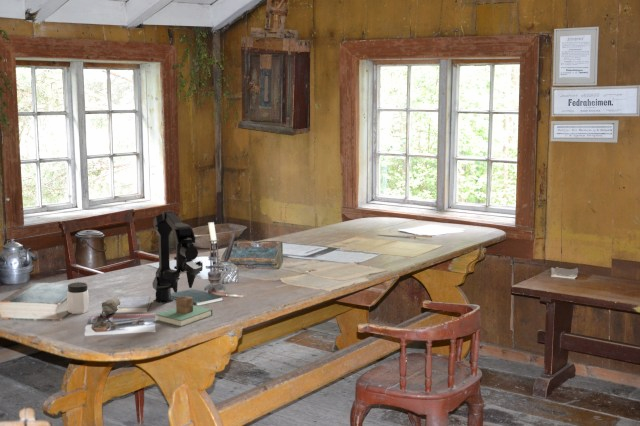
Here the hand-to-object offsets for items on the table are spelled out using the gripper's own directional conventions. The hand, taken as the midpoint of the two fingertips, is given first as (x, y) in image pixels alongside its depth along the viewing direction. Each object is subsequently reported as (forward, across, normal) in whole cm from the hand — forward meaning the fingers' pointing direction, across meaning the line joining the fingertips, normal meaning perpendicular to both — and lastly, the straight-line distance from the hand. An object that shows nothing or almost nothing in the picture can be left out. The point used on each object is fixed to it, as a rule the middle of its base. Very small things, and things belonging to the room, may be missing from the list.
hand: (183, 290), depth 354 cm
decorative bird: (+12, -16, +27) cm, 34 cm away
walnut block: (+9, -1, -2) cm, 9 cm away
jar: (+12, -22, +41) cm, 48 cm away
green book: (+12, -1, -2) cm, 12 cm away
